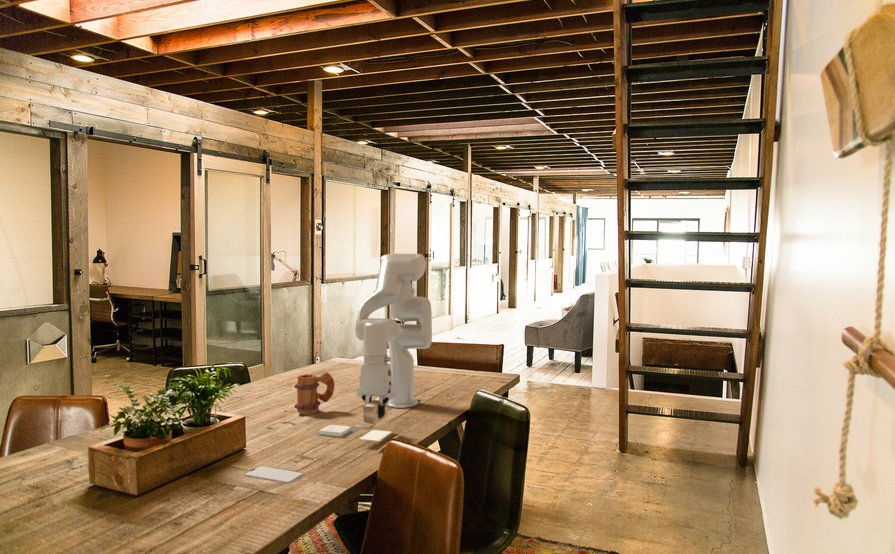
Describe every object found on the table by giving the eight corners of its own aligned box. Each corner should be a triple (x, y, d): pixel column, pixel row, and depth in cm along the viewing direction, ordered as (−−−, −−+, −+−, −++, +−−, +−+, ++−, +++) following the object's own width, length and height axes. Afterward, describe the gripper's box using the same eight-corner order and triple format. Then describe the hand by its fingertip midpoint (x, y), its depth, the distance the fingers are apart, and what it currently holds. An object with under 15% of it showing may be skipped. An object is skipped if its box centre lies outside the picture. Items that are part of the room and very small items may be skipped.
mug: (294, 417, 222) (294, 376, 221) (294, 411, 229) (293, 372, 229) (335, 414, 225) (335, 374, 225) (333, 409, 233) (333, 370, 233)
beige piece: (376, 414, 204) (376, 396, 204) (390, 415, 203) (390, 397, 202) (354, 429, 188) (354, 409, 188) (369, 430, 187) (368, 411, 187)
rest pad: (372, 432, 204) (372, 429, 204) (392, 434, 202) (392, 431, 202) (359, 441, 194) (359, 438, 194) (379, 443, 192) (379, 440, 192)
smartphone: (288, 482, 160) (242, 474, 165) (288, 485, 160) (242, 476, 165) (305, 472, 166) (260, 465, 172) (305, 475, 167) (260, 467, 172)
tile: (329, 424, 205) (319, 430, 199) (351, 426, 203) (341, 432, 196) (329, 428, 205) (319, 435, 199) (351, 431, 203) (341, 437, 196)
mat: (332, 426, 210) (332, 424, 210) (361, 429, 207) (361, 427, 207) (314, 436, 199) (314, 435, 199) (344, 440, 195) (344, 438, 195)
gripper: (403, 359, 198) (403, 415, 199) (357, 356, 203) (358, 411, 204) (394, 363, 191) (394, 421, 191) (347, 360, 196) (347, 417, 196)
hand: (375, 416), depth 198 cm, fingers closed on beige piece, 3 cm apart
